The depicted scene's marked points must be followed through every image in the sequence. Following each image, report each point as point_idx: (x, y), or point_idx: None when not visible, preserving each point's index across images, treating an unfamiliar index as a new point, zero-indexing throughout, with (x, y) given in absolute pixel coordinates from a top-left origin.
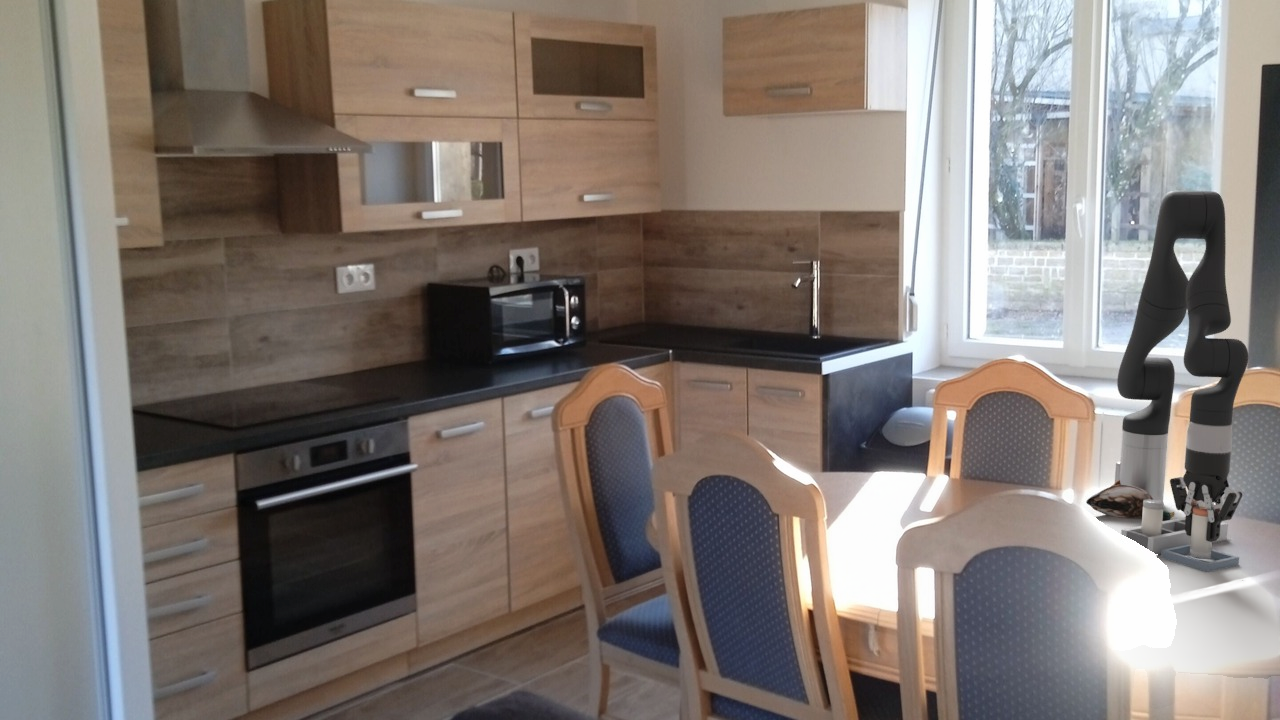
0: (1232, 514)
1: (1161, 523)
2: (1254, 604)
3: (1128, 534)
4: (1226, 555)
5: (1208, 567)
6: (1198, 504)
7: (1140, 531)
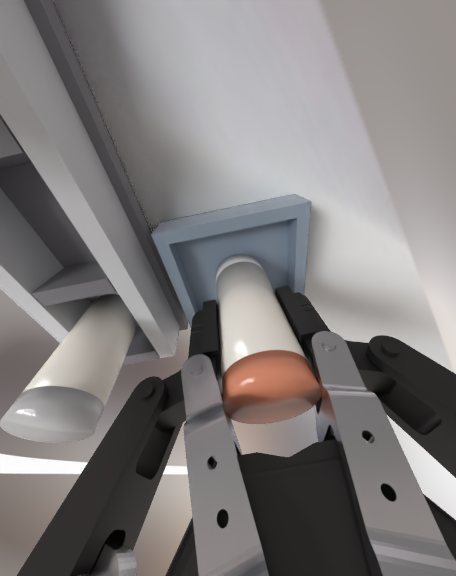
0: (429, 366)
1: (115, 344)
2: (403, 305)
3: None
4: (277, 221)
5: None
6: (226, 413)
7: None
